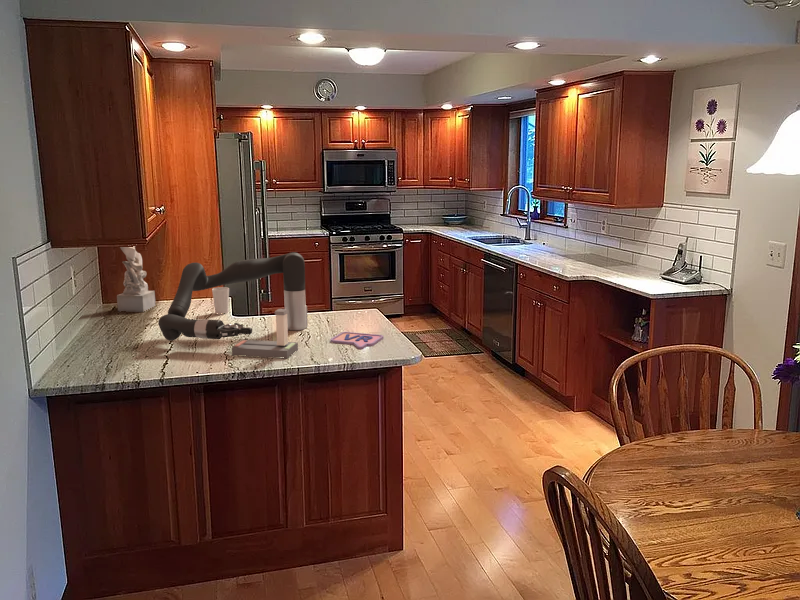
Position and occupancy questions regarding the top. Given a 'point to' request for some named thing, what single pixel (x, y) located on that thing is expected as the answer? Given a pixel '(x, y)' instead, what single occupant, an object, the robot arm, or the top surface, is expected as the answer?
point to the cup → (221, 299)
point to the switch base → (264, 348)
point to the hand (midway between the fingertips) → (251, 331)
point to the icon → (357, 339)
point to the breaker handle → (281, 326)
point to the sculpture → (134, 285)
